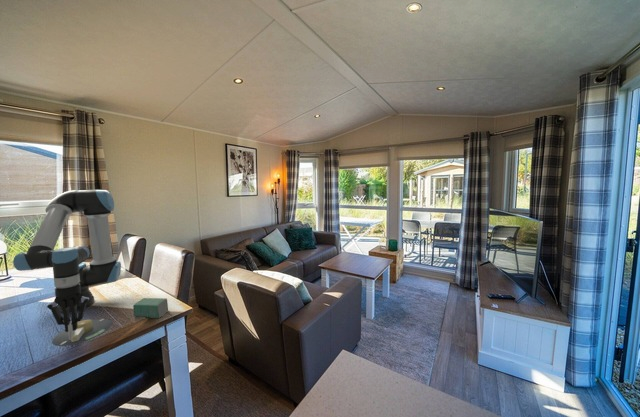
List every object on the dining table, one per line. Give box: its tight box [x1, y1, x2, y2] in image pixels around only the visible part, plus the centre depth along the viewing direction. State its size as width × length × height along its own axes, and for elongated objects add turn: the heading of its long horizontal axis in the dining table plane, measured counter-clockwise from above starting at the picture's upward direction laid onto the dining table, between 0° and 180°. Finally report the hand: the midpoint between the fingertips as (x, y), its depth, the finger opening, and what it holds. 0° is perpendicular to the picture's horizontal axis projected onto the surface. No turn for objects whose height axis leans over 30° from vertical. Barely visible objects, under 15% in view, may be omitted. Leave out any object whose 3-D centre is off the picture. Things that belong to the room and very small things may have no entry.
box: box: [132, 297, 169, 319], centre depth 129 cm, size 7×14×8 cm, turn 87°
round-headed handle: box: [71, 318, 93, 342], centre depth 110 cm, size 13×6×4 cm, turn 27°
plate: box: [51, 318, 113, 347], centre depth 113 cm, size 20×20×2 cm
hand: (72, 337), depth 106 cm, fingers closed
